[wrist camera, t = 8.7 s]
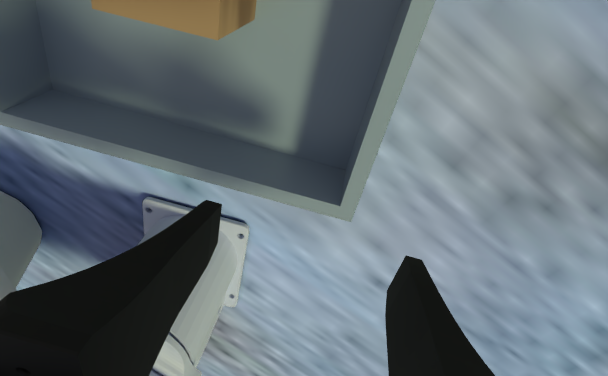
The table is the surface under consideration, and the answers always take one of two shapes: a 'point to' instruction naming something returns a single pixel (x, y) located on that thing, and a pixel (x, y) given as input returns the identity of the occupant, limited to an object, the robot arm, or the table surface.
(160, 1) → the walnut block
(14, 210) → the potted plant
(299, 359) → the table surface
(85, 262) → the table surface
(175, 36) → the slate bin
